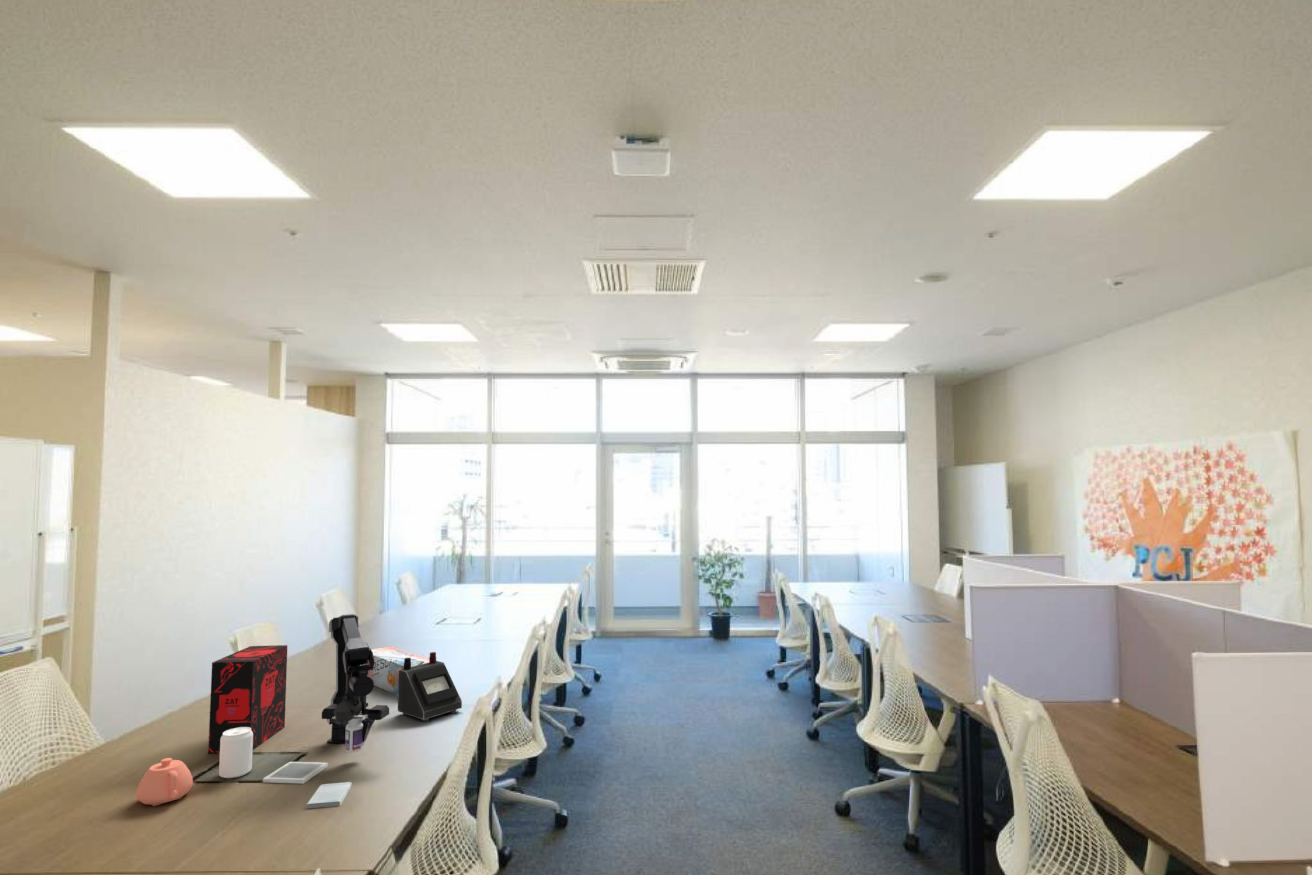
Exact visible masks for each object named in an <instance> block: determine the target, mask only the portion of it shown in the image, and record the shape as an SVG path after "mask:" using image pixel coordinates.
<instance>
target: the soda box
mask: <svg viewBox="0 0 1312 875" xmlns="http://www.w3.org/2000/svg"><path fill="white" fill-rule="evenodd" d="M371 651H372V652H373V657H374V663H375V664H374V666H373V670H368V675H369V677H370V678H371V679H372V680H373V682H374V687H376V688H378V689H380V690H381V689H382V690H384V691H385V692H386V691H387V692H389V693H392V694H393V695H396V696H398V673H399V669H403V668H404V658H411V667H412V666H416V665H420V664H425V663H429V658H428V657H425V656H422V655H419V654H416V653H414V652H410V651H406V650H403V649H400V648H396V647H393V646H385V647H379V648H371ZM368 664H369V661H368ZM368 664H365V665H368Z"/></svg>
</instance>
